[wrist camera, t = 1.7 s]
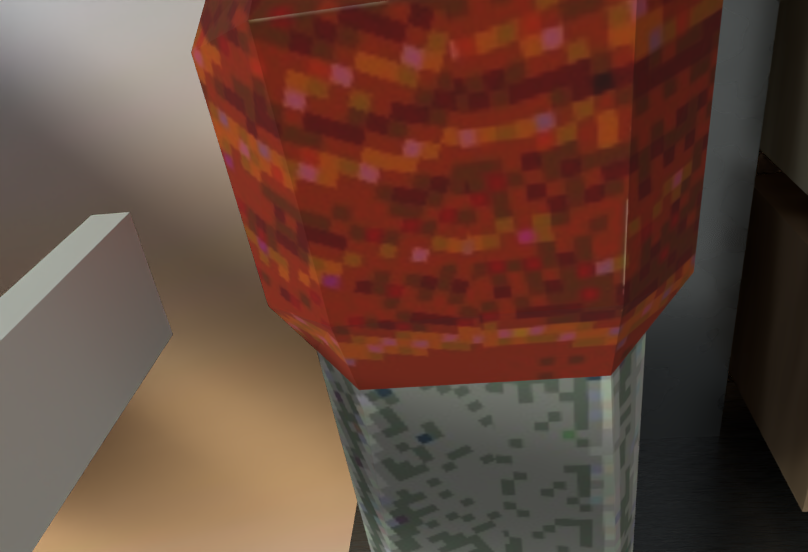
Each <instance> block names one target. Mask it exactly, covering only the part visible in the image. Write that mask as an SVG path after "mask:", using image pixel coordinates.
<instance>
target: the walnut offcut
mask: <svg viewBox="0 0 808 552" xmlns="http://www.w3.org/2000/svg"><path fill="white" fill-rule="evenodd" d="M729 373H730V375H731V377H732V379H733V380H734V382H735V384H736V386H737V388H738V390H739V392H740V394H741V396H742V398H743V400H744V401H745V403H746V405H747V407H748V409H749V411H750V413H751V415H752V417H753V419H754V421H755V422H756V424H757V426H758V428H759V430H760V432H761V434H762V436H763V438H764V440H765V442H766V443H767V445H768V447H769V449H770V451H771V453H772V455H773V457H774V459H775V461H776V463H777V464H778V466H779V468H780V470H781V472H782V474H783V476H784V478H785V480H786V482H787V484H788V485H789V487H790V489H791V491H792V493H793V495H794V497H795V499H796V501H797V503H798V505H799V506H800V508H801V510H802V512H808V195H807V194H806V193H805V192H804V191H803V190H802V189H801V188H800V187H799V186H797V185H796V184H795V183H794V182H793V181H792V180H791V179H790V178H789V177H788V176H787V175H786V174H785V173H784V172H783V173H771V174H759V175H755V183H754V190H753V197H752V204H751V212H750V219H749V226H748V233H747V240H746V248H745V255H744V262H743V269H742V277H741V284H740V291H739V298H738V306H737V313H736V320H735V327H734V334H733V342H732V349H731V356H730V363H729Z"/></svg>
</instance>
